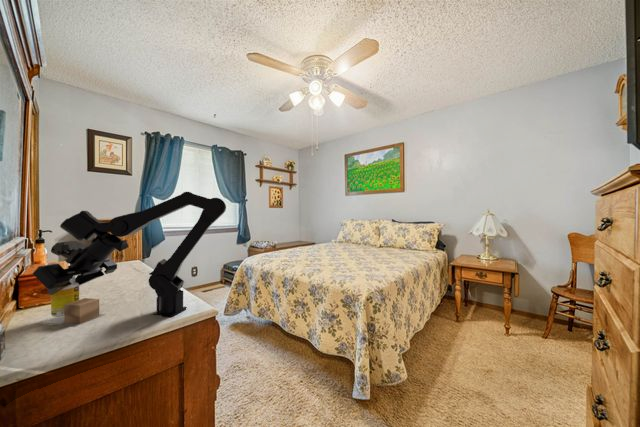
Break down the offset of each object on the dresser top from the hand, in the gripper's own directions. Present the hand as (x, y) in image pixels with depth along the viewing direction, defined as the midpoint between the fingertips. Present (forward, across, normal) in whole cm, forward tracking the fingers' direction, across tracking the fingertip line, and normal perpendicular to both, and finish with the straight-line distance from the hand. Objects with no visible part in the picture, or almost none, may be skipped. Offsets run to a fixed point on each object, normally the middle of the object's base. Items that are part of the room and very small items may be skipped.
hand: (60, 290), depth 69 cm
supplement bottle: (+4, 0, +6) cm, 7 cm away
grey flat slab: (+3, 0, +9) cm, 9 cm away
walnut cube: (+1, +1, +11) cm, 11 cm away
